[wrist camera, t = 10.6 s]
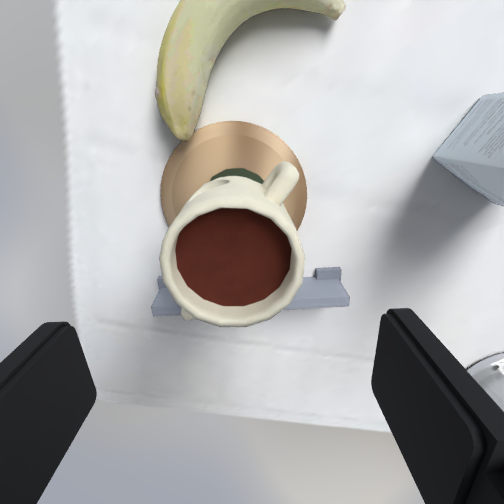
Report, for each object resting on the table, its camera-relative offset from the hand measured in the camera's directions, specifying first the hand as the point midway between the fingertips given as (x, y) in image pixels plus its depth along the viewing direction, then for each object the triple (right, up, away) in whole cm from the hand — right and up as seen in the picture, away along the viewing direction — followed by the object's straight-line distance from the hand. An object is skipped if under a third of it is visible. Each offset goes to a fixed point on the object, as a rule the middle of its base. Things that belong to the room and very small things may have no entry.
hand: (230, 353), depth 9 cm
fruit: (0, +18, +13) cm, 22 cm away
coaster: (-1, +8, +17) cm, 19 cm away
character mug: (-1, +8, +17) cm, 19 cm away
